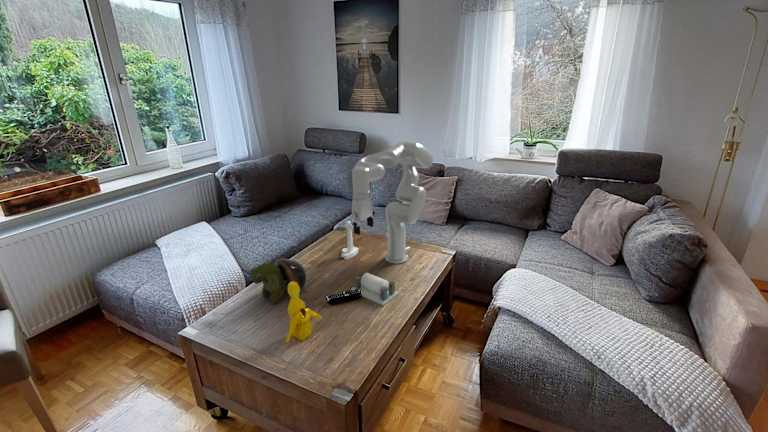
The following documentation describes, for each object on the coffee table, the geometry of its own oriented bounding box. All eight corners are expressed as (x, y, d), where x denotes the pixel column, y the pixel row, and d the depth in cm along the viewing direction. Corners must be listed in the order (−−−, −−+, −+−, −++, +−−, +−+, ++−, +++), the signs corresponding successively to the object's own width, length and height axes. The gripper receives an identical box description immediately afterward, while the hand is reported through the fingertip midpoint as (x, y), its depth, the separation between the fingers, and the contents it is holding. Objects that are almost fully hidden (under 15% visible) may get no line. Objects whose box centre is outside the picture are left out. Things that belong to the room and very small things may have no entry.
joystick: (347, 259, 198) (345, 225, 191) (336, 256, 202) (334, 222, 195) (360, 252, 206) (359, 218, 199) (349, 248, 210) (348, 216, 203)
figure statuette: (291, 351, 133) (284, 299, 125) (276, 343, 137) (269, 292, 129) (325, 325, 146) (322, 277, 138) (311, 318, 150) (307, 271, 143)
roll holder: (366, 281, 177) (366, 269, 175) (398, 294, 166) (398, 282, 164) (351, 291, 169) (350, 278, 167) (383, 306, 158) (383, 293, 156)
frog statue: (307, 303, 169) (256, 313, 151) (289, 288, 179) (239, 296, 161) (315, 265, 166) (265, 270, 147) (296, 252, 176) (246, 255, 157)
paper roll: (367, 281, 174) (366, 269, 171) (392, 291, 165) (392, 279, 163) (357, 287, 169) (356, 275, 167) (383, 299, 161) (382, 286, 158)
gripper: (367, 187, 171) (369, 221, 178) (342, 199, 158) (345, 235, 165) (380, 190, 167) (381, 225, 174) (355, 202, 154) (358, 239, 161)
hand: (363, 229), depth 169 cm, fingers open, 9 cm apart
